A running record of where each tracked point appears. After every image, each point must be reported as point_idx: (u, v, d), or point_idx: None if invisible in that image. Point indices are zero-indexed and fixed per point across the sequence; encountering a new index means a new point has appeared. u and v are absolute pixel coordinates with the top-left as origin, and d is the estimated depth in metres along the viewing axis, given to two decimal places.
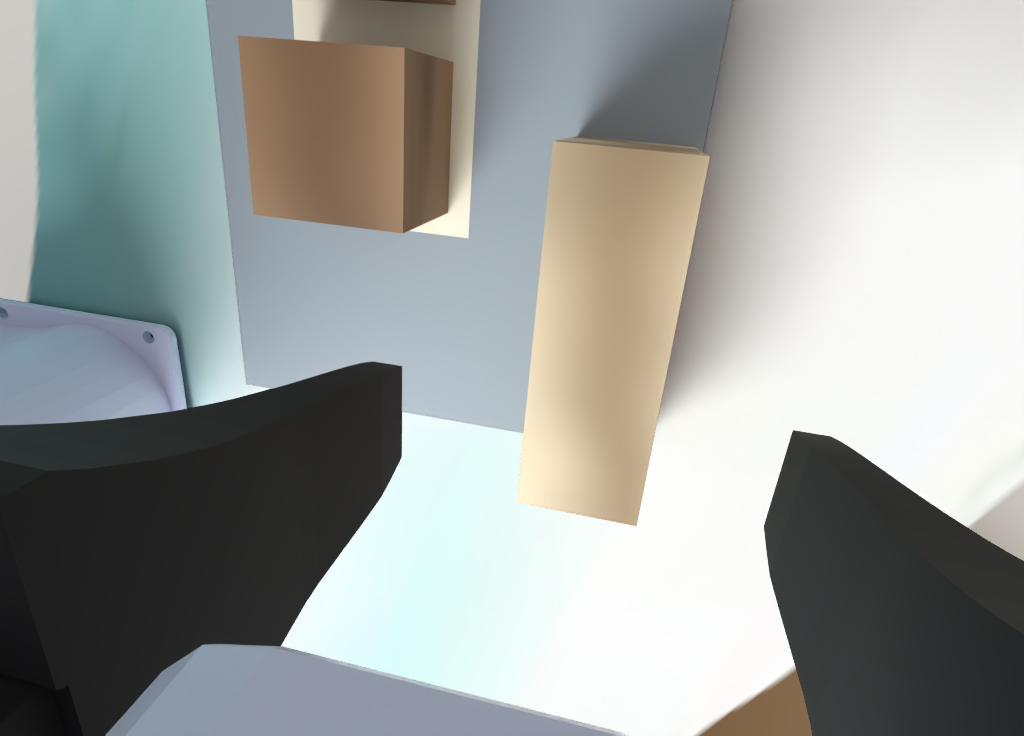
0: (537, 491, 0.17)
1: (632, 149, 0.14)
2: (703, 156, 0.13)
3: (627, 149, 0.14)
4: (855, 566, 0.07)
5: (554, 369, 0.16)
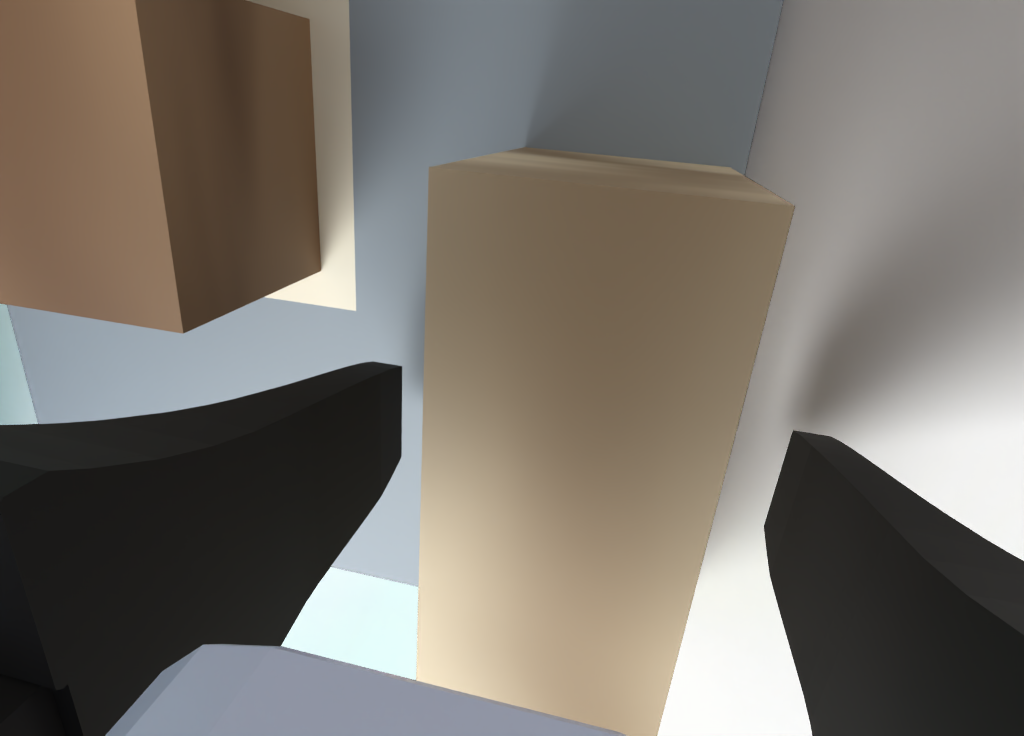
0: None
1: (609, 187, 0.06)
2: (778, 206, 0.05)
3: (597, 187, 0.06)
4: (855, 566, 0.07)
5: (464, 605, 0.08)
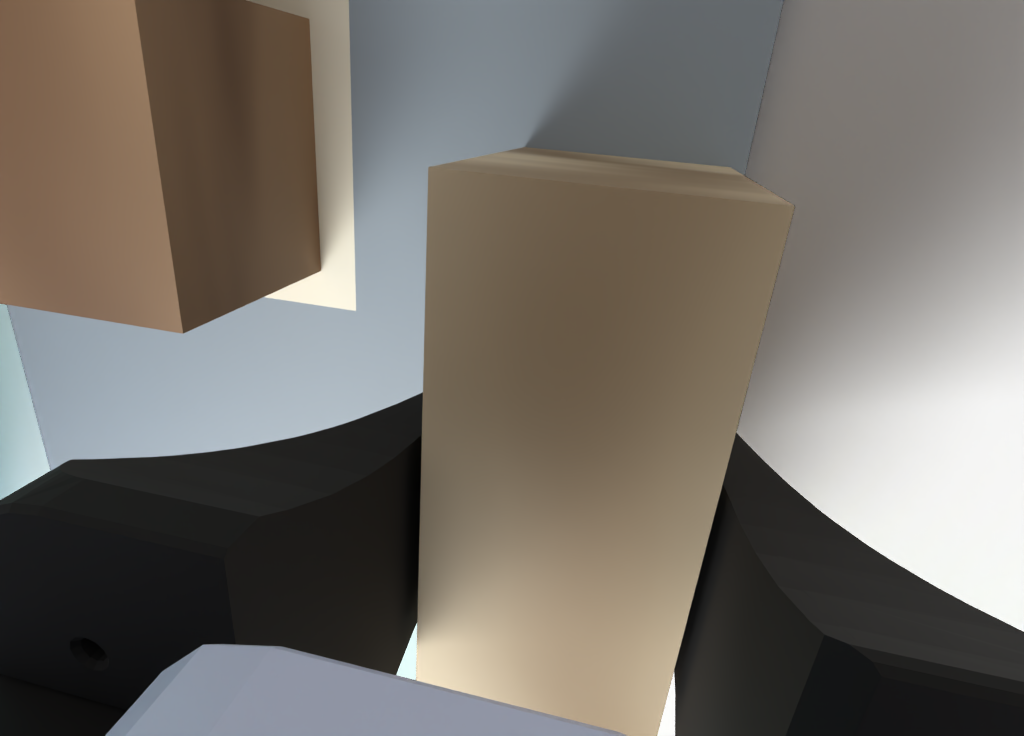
0: None
1: (608, 187, 0.06)
2: (778, 206, 0.05)
3: (597, 187, 0.06)
4: None
5: (464, 605, 0.08)
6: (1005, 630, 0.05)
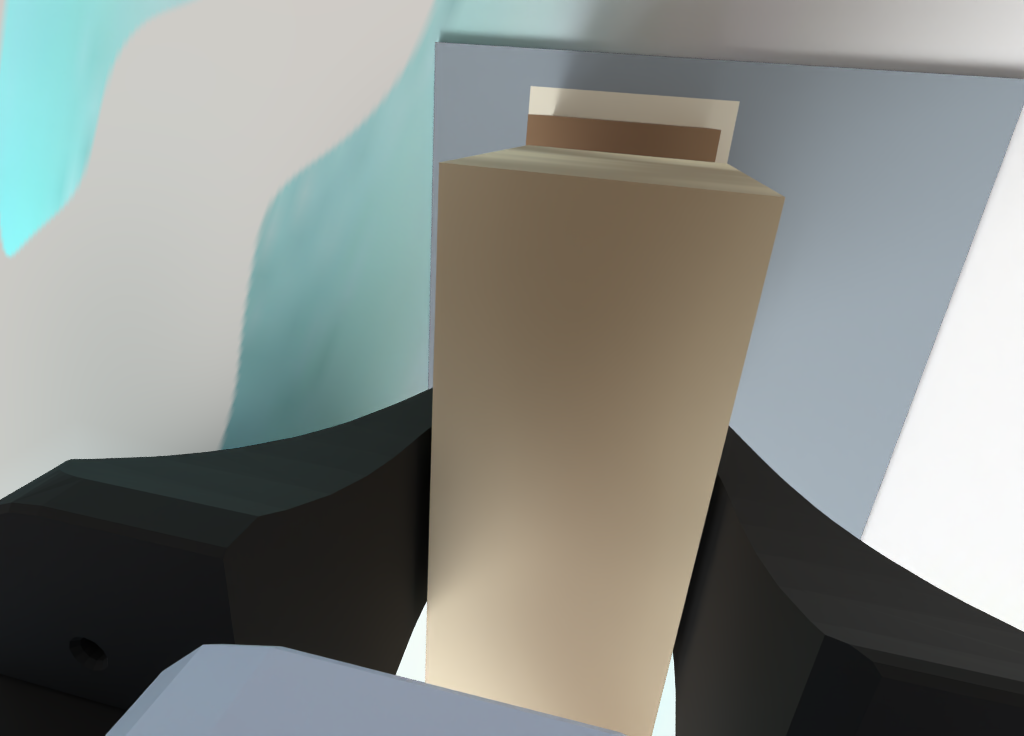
0: None
1: (609, 180, 0.06)
2: (770, 197, 0.06)
3: (598, 181, 0.06)
4: (708, 537, 0.08)
5: (471, 584, 0.08)
6: (1006, 630, 0.05)
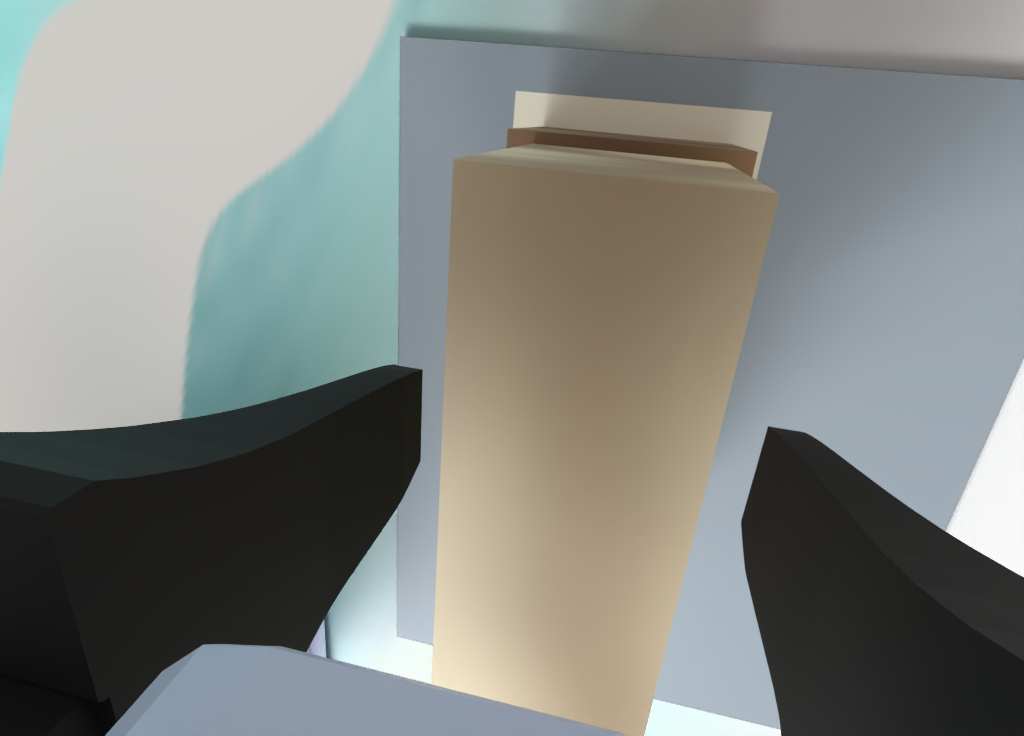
0: None
1: (614, 177, 0.07)
2: (765, 194, 0.06)
3: (604, 177, 0.06)
4: (820, 559, 0.08)
5: (478, 563, 0.09)
6: None
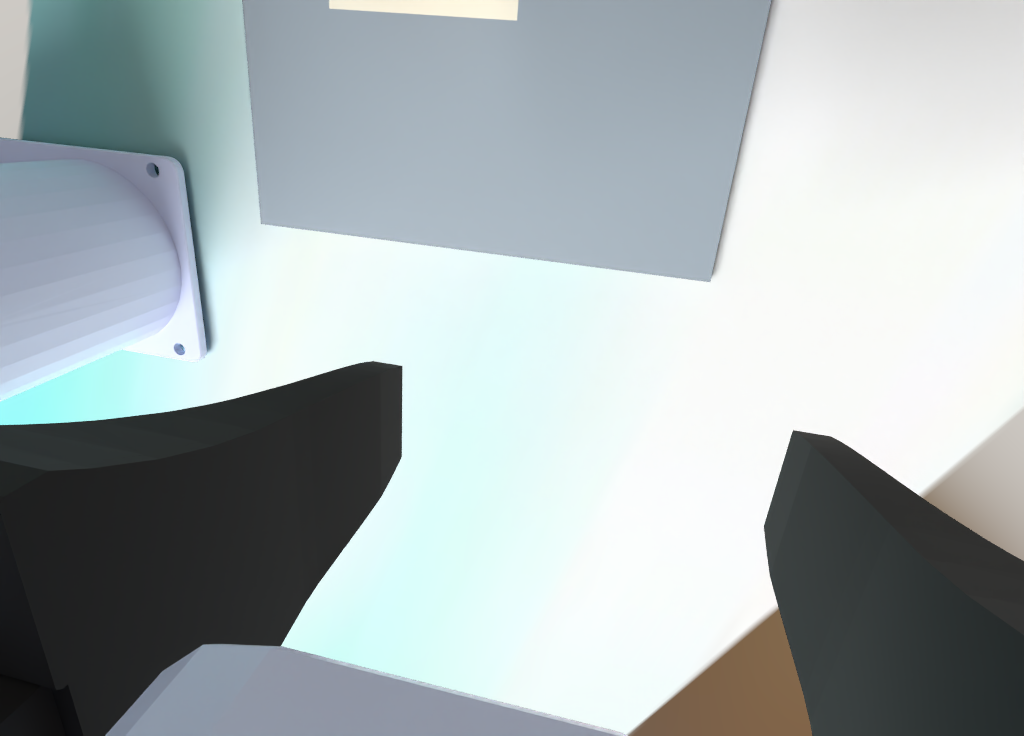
0: None
1: None
2: None
3: None
4: (855, 566, 0.07)
5: None
6: None
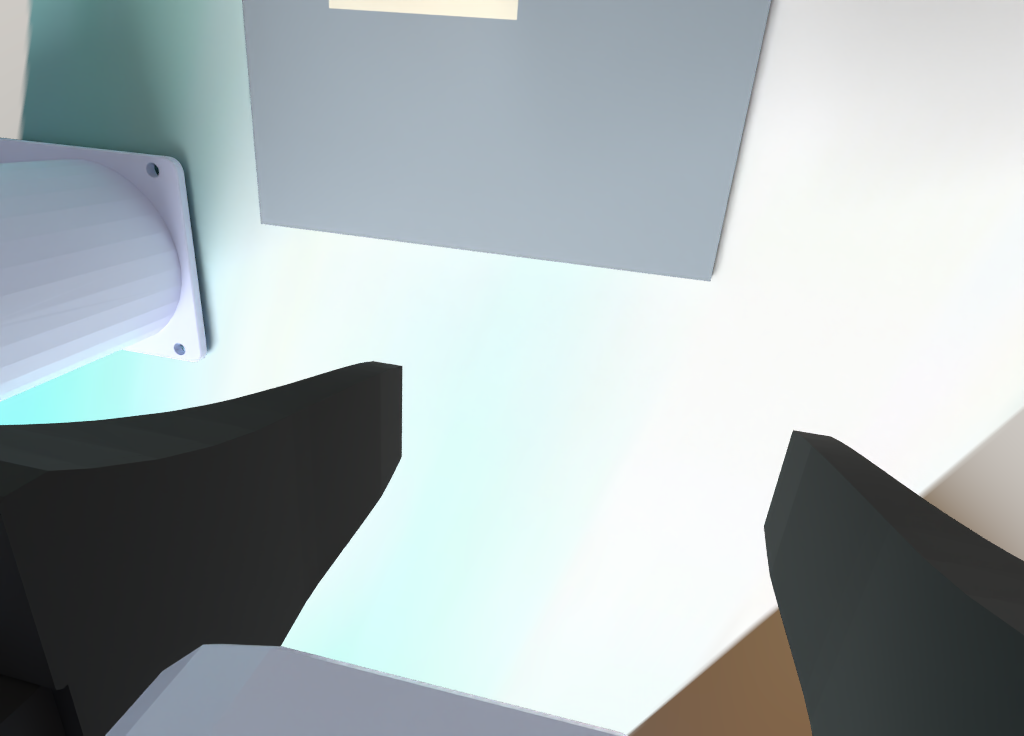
0: None
1: None
2: None
3: None
4: (855, 566, 0.07)
5: None
6: None
